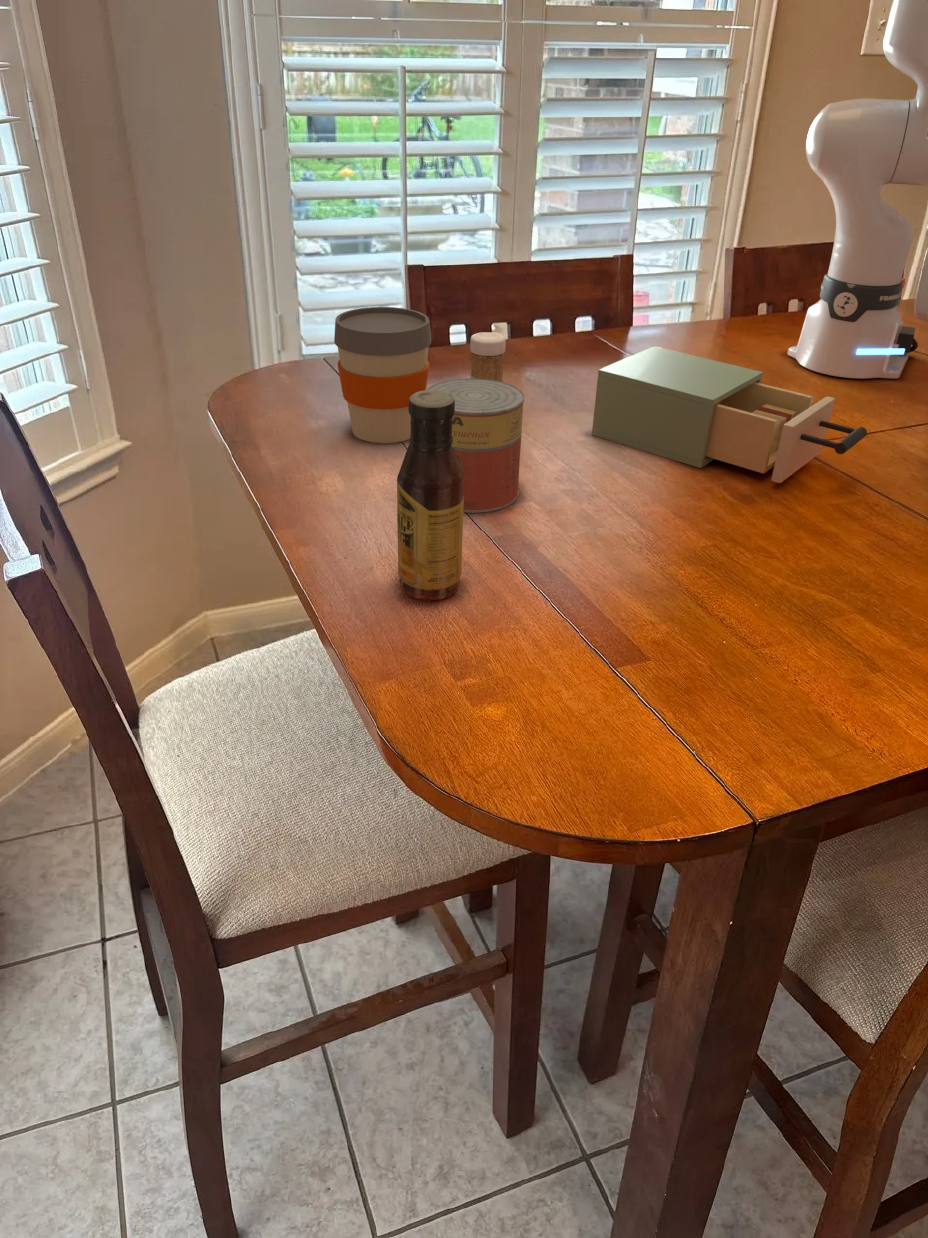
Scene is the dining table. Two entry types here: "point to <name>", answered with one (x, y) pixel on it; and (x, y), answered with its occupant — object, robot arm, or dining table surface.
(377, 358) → the reusable coffee cup
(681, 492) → the dining table surface
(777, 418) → the tan and red block
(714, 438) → the drawer
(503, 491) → the canned food
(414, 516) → the sauce bottle
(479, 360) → the sprinkles bottle
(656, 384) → the cabinet
